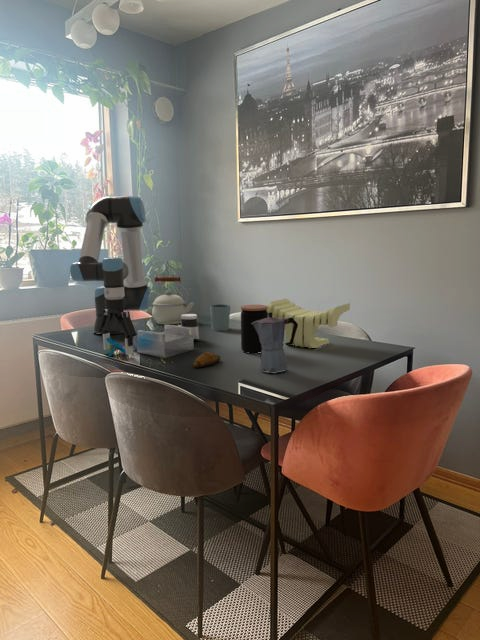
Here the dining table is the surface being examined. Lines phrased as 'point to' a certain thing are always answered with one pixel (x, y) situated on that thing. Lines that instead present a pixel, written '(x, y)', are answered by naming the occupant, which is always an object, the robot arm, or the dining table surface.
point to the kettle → (169, 304)
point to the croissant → (206, 359)
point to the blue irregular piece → (114, 347)
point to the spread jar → (191, 324)
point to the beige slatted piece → (305, 321)
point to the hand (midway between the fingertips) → (118, 351)
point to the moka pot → (273, 341)
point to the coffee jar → (251, 327)
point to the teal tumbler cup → (220, 317)
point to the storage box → (164, 341)
